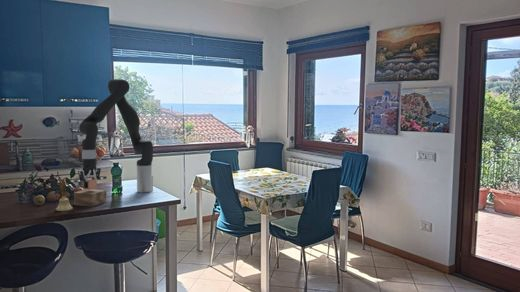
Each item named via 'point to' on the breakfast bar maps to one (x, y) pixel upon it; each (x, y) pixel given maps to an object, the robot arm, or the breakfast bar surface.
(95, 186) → the terracotta cube
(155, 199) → the breakfast bar surface
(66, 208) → the hand bell
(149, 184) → the robot arm
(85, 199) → the walnut block
